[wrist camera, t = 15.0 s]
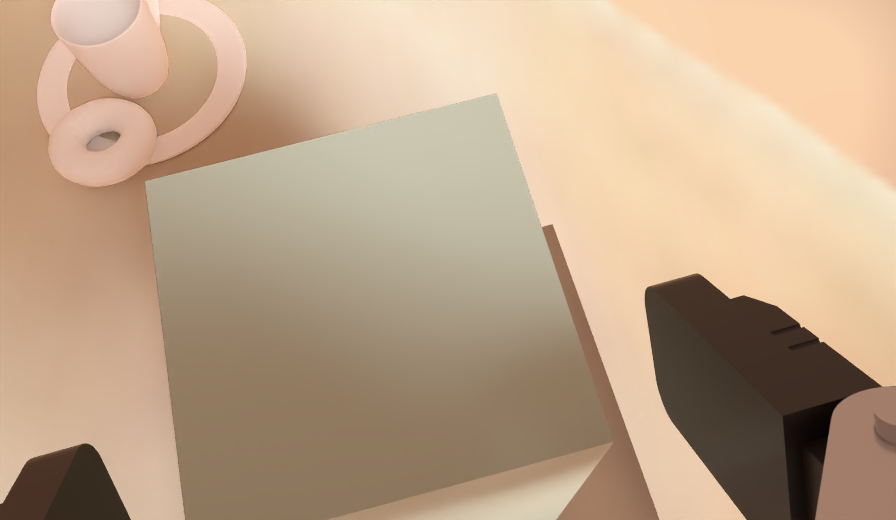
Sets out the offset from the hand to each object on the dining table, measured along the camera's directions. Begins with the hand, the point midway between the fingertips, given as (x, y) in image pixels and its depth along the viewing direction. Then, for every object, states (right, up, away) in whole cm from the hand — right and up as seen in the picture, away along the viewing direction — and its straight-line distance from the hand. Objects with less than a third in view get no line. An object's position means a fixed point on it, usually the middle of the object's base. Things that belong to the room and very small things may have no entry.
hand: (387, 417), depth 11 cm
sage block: (0, -3, +9) cm, 9 cm away
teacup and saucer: (-14, +8, +19) cm, 25 cm away
